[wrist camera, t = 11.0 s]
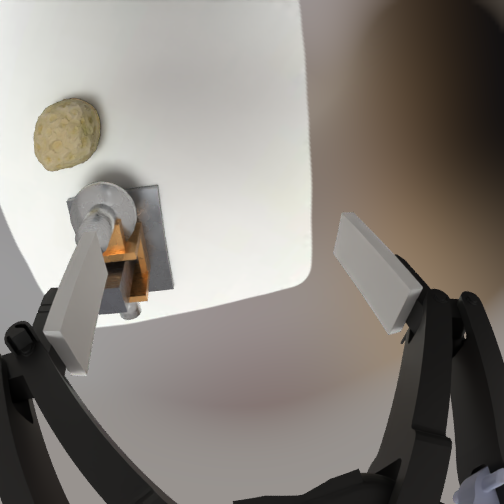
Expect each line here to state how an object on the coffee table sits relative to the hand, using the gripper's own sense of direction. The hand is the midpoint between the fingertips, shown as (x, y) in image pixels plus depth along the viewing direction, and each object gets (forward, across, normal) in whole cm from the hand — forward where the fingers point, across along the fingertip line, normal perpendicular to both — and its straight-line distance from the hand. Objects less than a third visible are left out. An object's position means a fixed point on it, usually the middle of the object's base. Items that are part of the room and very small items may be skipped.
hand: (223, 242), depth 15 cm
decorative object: (+27, -17, +3) cm, 32 cm away
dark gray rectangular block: (+26, -13, -16) cm, 33 cm away
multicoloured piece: (+27, -13, -14) cm, 33 cm away
